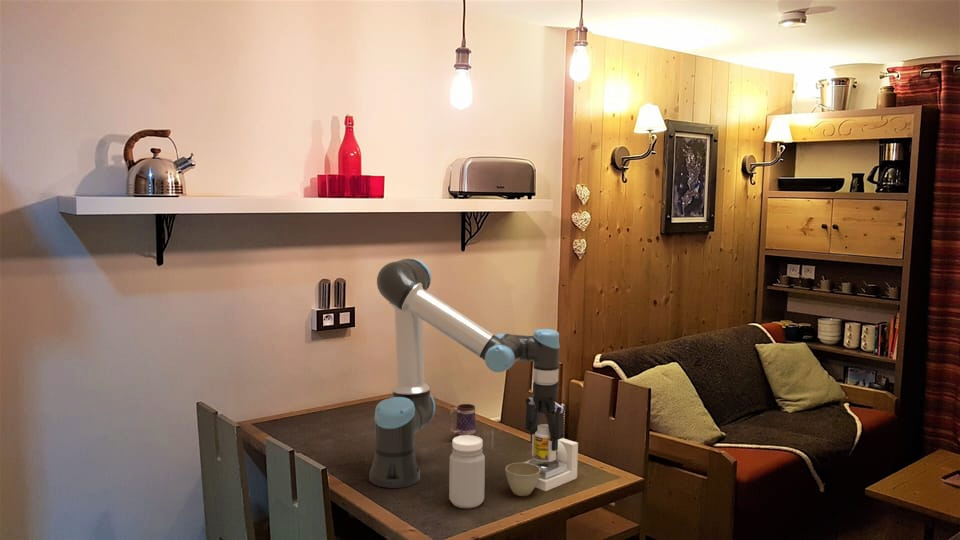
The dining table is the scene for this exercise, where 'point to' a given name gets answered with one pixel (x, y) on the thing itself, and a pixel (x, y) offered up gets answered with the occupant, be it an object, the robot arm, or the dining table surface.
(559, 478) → the scale base
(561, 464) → the pan
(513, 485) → the flower pot
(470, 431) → the mug
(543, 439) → the supplement bottle
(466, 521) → the dining table surface
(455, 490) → the jar
